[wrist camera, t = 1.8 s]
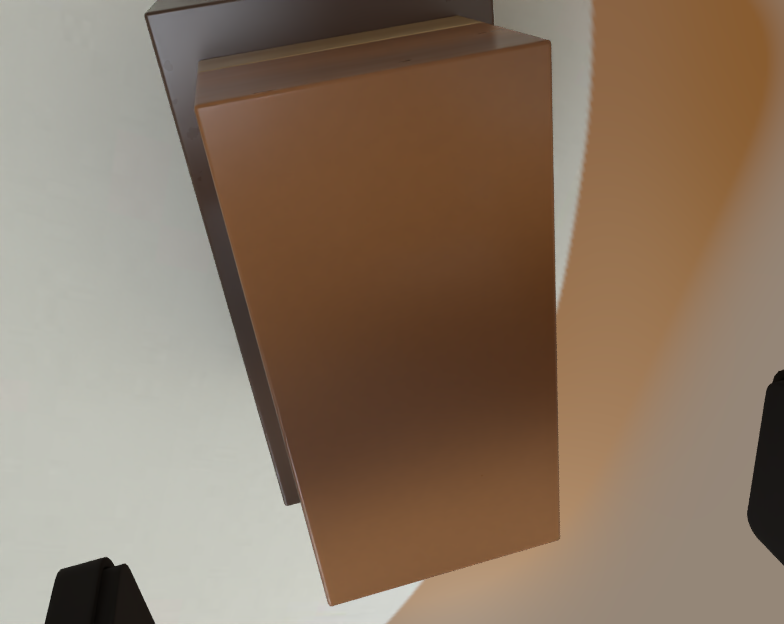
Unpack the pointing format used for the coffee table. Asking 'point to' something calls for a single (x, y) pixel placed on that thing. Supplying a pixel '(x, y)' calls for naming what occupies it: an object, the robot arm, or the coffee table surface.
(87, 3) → the coffee table surface
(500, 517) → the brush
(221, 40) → the stand
